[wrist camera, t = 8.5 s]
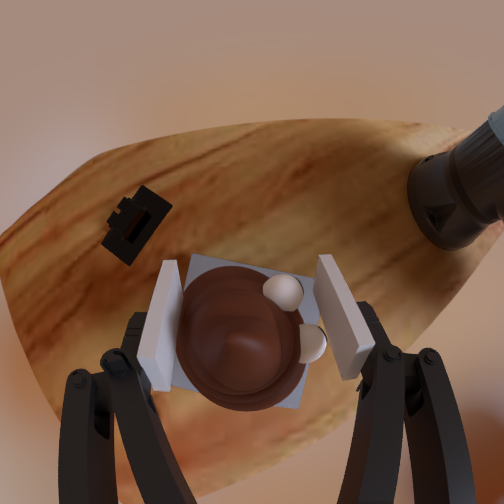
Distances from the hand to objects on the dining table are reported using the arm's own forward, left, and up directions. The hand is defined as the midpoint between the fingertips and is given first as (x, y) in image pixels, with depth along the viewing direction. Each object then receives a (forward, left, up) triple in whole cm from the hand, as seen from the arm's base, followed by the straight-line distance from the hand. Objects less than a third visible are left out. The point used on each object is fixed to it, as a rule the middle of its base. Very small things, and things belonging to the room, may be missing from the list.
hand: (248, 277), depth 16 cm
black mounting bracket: (+15, -5, -17) cm, 23 cm away
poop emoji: (0, +4, -4) cm, 5 cm away
